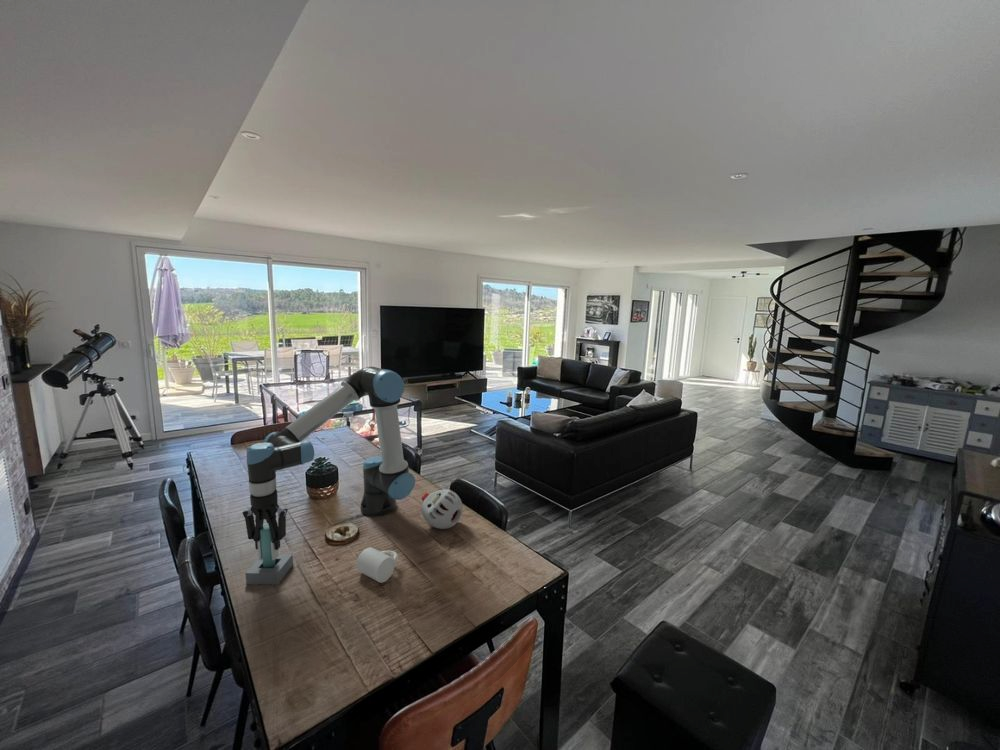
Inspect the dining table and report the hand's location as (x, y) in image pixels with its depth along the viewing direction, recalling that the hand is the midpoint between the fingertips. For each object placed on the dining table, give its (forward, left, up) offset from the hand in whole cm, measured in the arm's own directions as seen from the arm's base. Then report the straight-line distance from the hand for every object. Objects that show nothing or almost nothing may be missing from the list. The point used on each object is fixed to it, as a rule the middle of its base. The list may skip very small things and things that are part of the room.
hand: (268, 557), depth 133 cm
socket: (0, 0, -6) cm, 6 cm away
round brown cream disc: (-15, -23, -7) cm, 28 cm away
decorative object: (-52, -32, -6) cm, 61 cm away
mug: (-36, -2, -6) cm, 37 cm away
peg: (0, 0, -3) cm, 3 cm away
